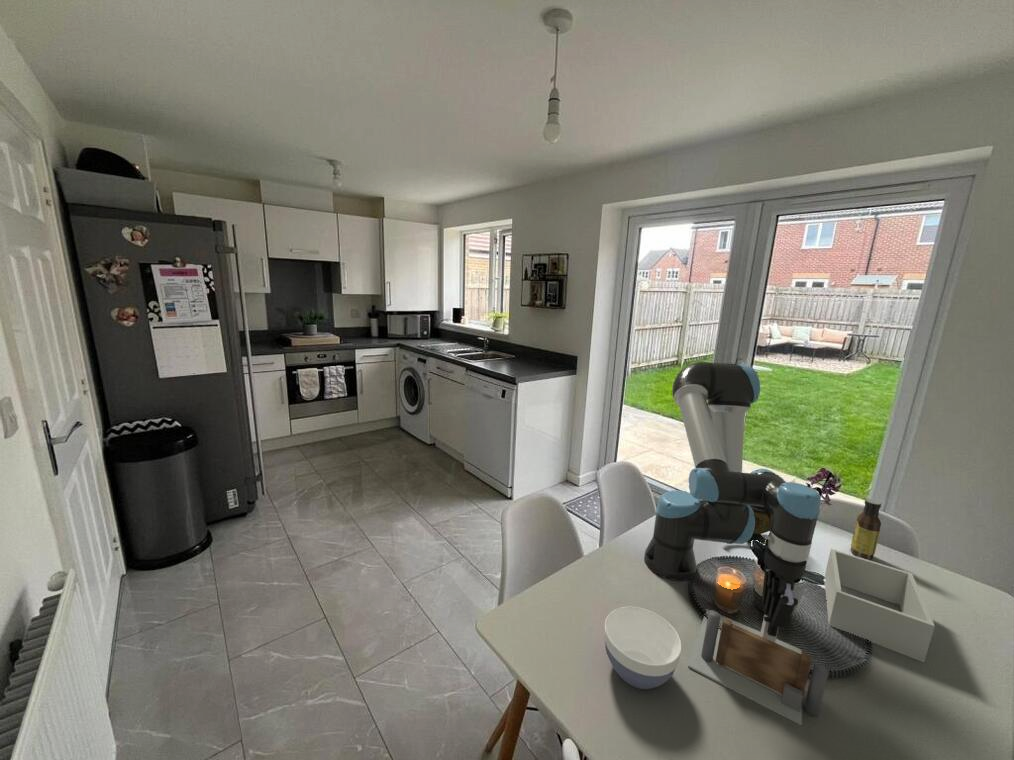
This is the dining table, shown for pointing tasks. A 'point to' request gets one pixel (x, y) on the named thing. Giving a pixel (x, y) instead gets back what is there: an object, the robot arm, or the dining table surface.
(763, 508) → the teapot
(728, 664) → the gate
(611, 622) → the bowl
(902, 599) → the box
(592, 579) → the dining table surface
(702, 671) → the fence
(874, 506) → the sauce bottle
